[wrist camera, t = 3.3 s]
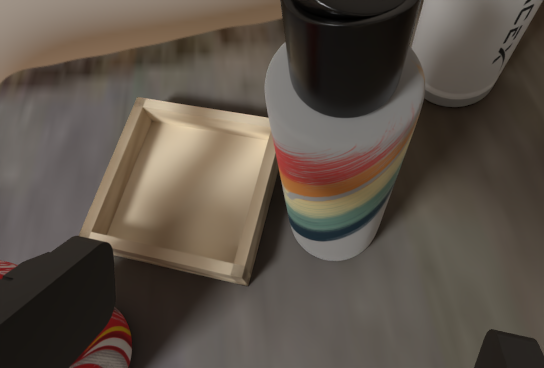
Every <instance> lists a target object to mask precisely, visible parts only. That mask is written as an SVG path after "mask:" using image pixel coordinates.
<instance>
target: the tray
mask: <svg viewBox="0 0 544 368" xmlns="http://www.w3.org/2000/svg"><path fill="white" fill-rule="evenodd" d="M278 171H279V167H278V162H277V157H276V152H275V147H274V142H273V137H272V132H271V127H270V122H269V118H267V117H260V116H254V115H248V114H241V113H235V112H228V111H222V110H216V109H209V108H203V107H197V106H190V105H184V104H178V103H171V102H165V101H158V100H152V99H146V98H139V97H137V99H136V101H135V104H134V106H133V108H132V111H131V113H130V116H129V118H128V120H127V123H126V125H125V127H124V130H123V132H122V135H121V137H120V139H119V142H118V144H117V146H116V149H115V151H114V153H113V156H112V158H111V161H110V163H109V165H108V168H107V170H106V172H105V175H104V177H103V179H102V182H101V184H100V187H99V189H98V191H97V194H96V196H95V198H94V201H93V203H92V205H91V208H90V210H89V213H88V215H87V217H86V220H85V222H84V224H83V227H82V229H81V231H80V234H79V236H81V237H86V238H90V239H95V240H99V241H104V242H108V243H110V245H111V246H112V249H113V255H115V256H120V257H124V258H128V259H133V260H137V261H141V262H146V263H150V264H154V265H159V266H163V267H167V268H171V269H176V270H180V271H184V272H189V273H193V274H197V275H202V276H206V277H210V278H215V279H219V280H223V281H228V282H232V283H236V284H240V285H245V286H248V285H249V282H250V278H251V274H252V270H253V266H254V262H255V259H256V255H257V251H258V247H259V243H260V240H261V236H262V232H263V228H264V224H265V221H266V217H267V213H268V209H269V205H270V202H271V198H272V194H273V190H274V186H275V182H276V179H277V175H278Z"/></svg>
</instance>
